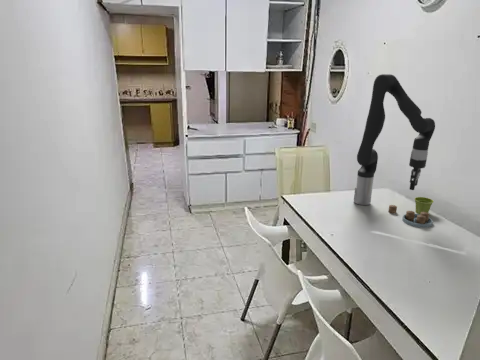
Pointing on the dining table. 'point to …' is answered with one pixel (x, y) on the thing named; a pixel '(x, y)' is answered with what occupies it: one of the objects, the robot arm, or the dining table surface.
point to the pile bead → (392, 209)
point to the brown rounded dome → (410, 216)
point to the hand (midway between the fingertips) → (413, 187)
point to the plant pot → (423, 204)
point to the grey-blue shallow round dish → (417, 223)
